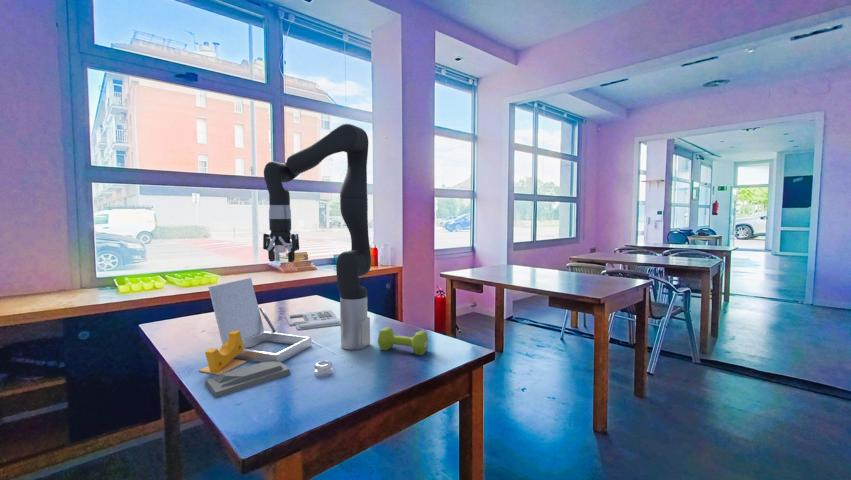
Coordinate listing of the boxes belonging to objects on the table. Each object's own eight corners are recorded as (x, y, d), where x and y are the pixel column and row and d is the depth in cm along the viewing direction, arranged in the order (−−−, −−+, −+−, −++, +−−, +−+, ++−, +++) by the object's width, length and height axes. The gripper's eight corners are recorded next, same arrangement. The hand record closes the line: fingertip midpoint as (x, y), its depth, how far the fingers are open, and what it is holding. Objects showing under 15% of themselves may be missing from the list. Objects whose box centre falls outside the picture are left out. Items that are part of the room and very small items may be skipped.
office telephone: (342, 320, 161) (291, 326, 152) (342, 326, 161) (291, 333, 152) (331, 307, 182) (285, 311, 173) (331, 312, 182) (285, 317, 173)
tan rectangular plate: (246, 362, 122) (246, 361, 122) (219, 375, 112) (219, 373, 112) (226, 359, 124) (226, 357, 124) (198, 371, 115) (198, 370, 115)
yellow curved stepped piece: (232, 348, 126) (227, 330, 124) (243, 348, 125) (239, 330, 123) (205, 371, 114) (199, 351, 113) (217, 371, 114) (212, 352, 112)
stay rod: (277, 334, 143) (276, 308, 142) (275, 335, 142) (275, 309, 141) (261, 332, 145) (260, 306, 145) (259, 333, 145) (258, 307, 144)
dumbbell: (430, 350, 133) (430, 329, 132) (421, 358, 125) (421, 336, 125) (386, 344, 138) (386, 324, 138) (375, 352, 131) (375, 330, 130)
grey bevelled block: (204, 386, 106) (203, 374, 106) (276, 366, 120) (276, 355, 120) (216, 399, 99) (215, 386, 99) (291, 376, 113) (291, 364, 113)
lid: (251, 277, 143) (248, 278, 144) (210, 286, 127) (207, 287, 127) (264, 331, 143) (261, 331, 144) (224, 347, 127) (221, 347, 127)
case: (313, 344, 138) (313, 336, 138) (276, 364, 120) (276, 355, 120) (267, 338, 145) (267, 330, 144) (226, 356, 127) (225, 347, 126)
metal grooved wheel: (336, 372, 115) (325, 368, 118) (335, 362, 114) (325, 358, 117) (321, 378, 111) (311, 373, 114) (321, 367, 110) (311, 363, 114)
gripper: (302, 217, 144) (304, 261, 146) (271, 217, 149) (272, 259, 150) (289, 218, 137) (290, 264, 139) (257, 217, 142) (258, 262, 143)
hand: (281, 261), depth 145 cm, fingers open, 8 cm apart
